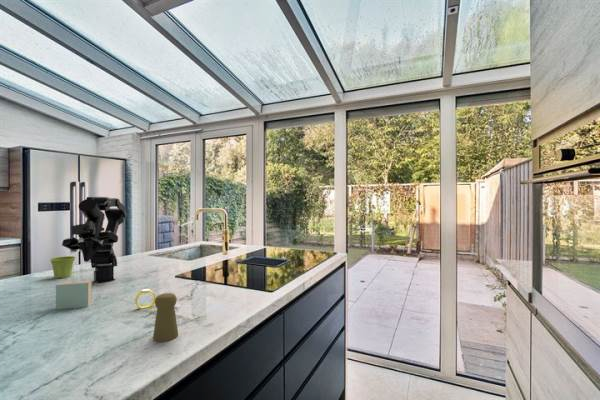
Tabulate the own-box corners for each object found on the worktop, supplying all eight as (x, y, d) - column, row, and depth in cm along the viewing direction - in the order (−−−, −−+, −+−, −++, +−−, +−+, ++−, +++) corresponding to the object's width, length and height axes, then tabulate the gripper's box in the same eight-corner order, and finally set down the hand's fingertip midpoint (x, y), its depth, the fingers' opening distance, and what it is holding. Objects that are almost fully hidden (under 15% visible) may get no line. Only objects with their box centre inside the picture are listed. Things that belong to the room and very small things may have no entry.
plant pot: (80, 275, 144) (80, 256, 144) (59, 280, 135) (59, 260, 135) (66, 273, 147) (66, 255, 147) (44, 278, 138) (44, 259, 138)
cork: (158, 331, 83) (158, 291, 83) (181, 331, 83) (181, 290, 83) (149, 342, 77) (149, 298, 77) (173, 341, 77) (174, 297, 77)
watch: (153, 305, 104) (155, 287, 104) (155, 307, 102) (157, 289, 102) (134, 308, 100) (135, 289, 101) (135, 310, 98) (137, 291, 98)
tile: (59, 306, 102) (59, 282, 102) (91, 303, 105) (91, 280, 105) (55, 309, 99) (55, 284, 99) (88, 306, 102) (88, 282, 102)
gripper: (55, 219, 116) (44, 258, 108) (103, 210, 115) (95, 249, 107) (77, 231, 125) (68, 268, 117) (121, 223, 125) (115, 259, 117)
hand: (86, 261), depth 115 cm, fingers closed
